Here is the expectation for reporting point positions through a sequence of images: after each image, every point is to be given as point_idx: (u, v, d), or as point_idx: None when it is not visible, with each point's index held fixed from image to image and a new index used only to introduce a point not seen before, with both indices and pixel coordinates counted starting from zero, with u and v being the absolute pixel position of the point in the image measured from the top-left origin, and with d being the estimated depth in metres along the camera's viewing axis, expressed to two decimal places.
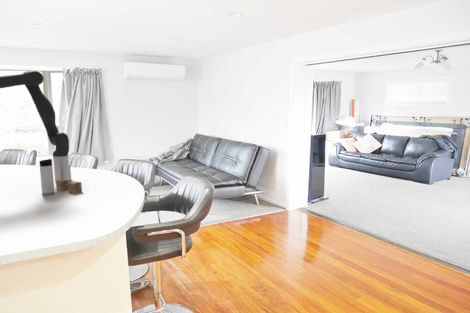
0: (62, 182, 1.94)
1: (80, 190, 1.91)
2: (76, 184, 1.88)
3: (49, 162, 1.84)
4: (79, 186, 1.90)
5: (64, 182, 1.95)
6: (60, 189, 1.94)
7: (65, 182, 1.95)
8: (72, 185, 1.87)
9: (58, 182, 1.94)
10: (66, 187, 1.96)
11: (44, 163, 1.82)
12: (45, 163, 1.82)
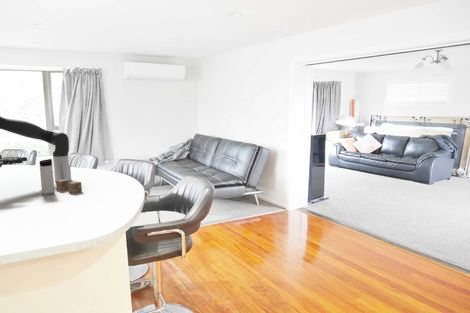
0: (62, 182, 1.94)
1: (80, 190, 1.91)
2: (76, 184, 1.88)
3: (49, 162, 1.84)
4: (79, 186, 1.90)
5: (64, 182, 1.95)
6: (60, 189, 1.94)
7: (65, 182, 1.95)
8: (72, 185, 1.87)
9: (58, 182, 1.94)
10: (66, 187, 1.96)
11: (44, 163, 1.82)
12: (45, 163, 1.82)
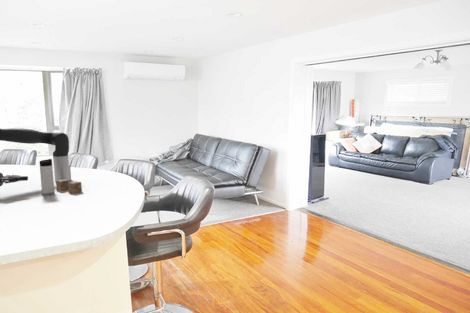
0: (62, 182, 1.94)
1: (80, 190, 1.91)
2: (76, 184, 1.88)
3: (49, 162, 1.84)
4: (79, 186, 1.90)
5: (64, 182, 1.95)
6: (60, 189, 1.94)
7: (65, 182, 1.95)
8: (72, 185, 1.87)
9: (58, 182, 1.94)
10: (66, 187, 1.96)
11: (44, 163, 1.82)
12: (45, 163, 1.82)
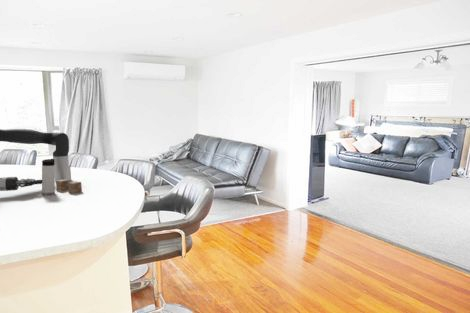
0: (62, 182, 1.94)
1: (80, 190, 1.91)
2: (76, 184, 1.88)
3: (52, 162, 1.84)
4: (79, 186, 1.90)
5: (64, 182, 1.95)
6: (60, 189, 1.94)
7: (65, 182, 1.95)
8: (72, 185, 1.87)
9: (58, 182, 1.94)
10: (66, 187, 1.96)
11: (47, 163, 1.82)
12: (48, 163, 1.82)
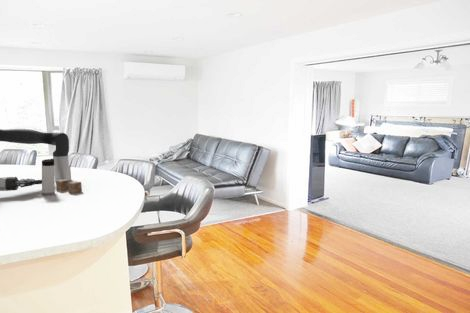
0: (62, 182, 1.94)
1: (80, 190, 1.91)
2: (76, 184, 1.88)
3: (51, 162, 1.84)
4: (79, 186, 1.90)
5: (64, 182, 1.95)
6: (60, 189, 1.94)
7: (65, 182, 1.95)
8: (72, 185, 1.87)
9: (58, 182, 1.94)
10: (66, 187, 1.96)
11: (46, 163, 1.82)
12: (47, 163, 1.82)
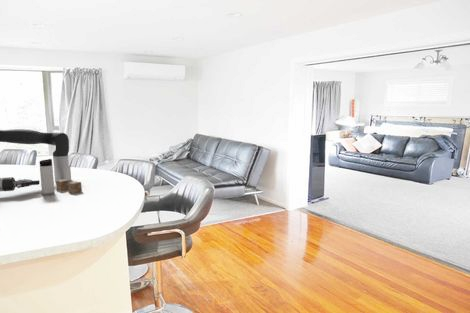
0: (62, 182, 1.94)
1: (80, 190, 1.91)
2: (76, 184, 1.88)
3: (49, 162, 1.83)
4: (79, 186, 1.90)
5: (64, 182, 1.95)
6: (60, 189, 1.94)
7: (65, 182, 1.95)
8: (72, 185, 1.87)
9: (58, 182, 1.94)
10: (66, 187, 1.96)
11: (44, 163, 1.82)
12: (45, 163, 1.82)
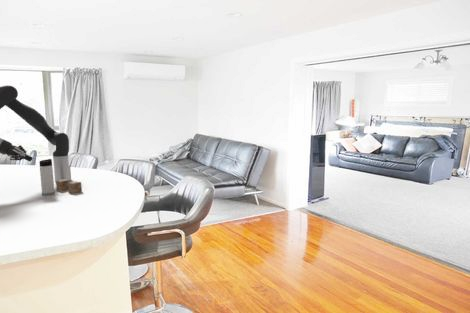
0: (62, 182, 1.94)
1: (80, 190, 1.91)
2: (76, 184, 1.88)
3: (49, 162, 1.83)
4: (79, 186, 1.90)
5: (64, 182, 1.95)
6: (60, 189, 1.94)
7: (65, 182, 1.95)
8: (72, 185, 1.87)
9: (58, 182, 1.94)
10: (66, 187, 1.96)
11: (44, 163, 1.82)
12: (45, 163, 1.82)
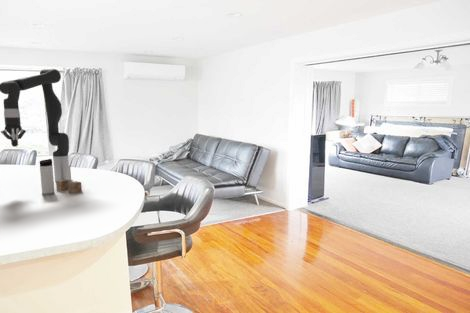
0: (62, 182, 1.94)
1: (80, 190, 1.91)
2: (76, 184, 1.88)
3: (49, 162, 1.84)
4: (79, 186, 1.90)
5: (64, 182, 1.95)
6: (60, 189, 1.94)
7: (65, 182, 1.95)
8: (72, 185, 1.87)
9: (58, 182, 1.94)
10: (66, 187, 1.96)
11: (44, 163, 1.82)
12: (45, 163, 1.82)
